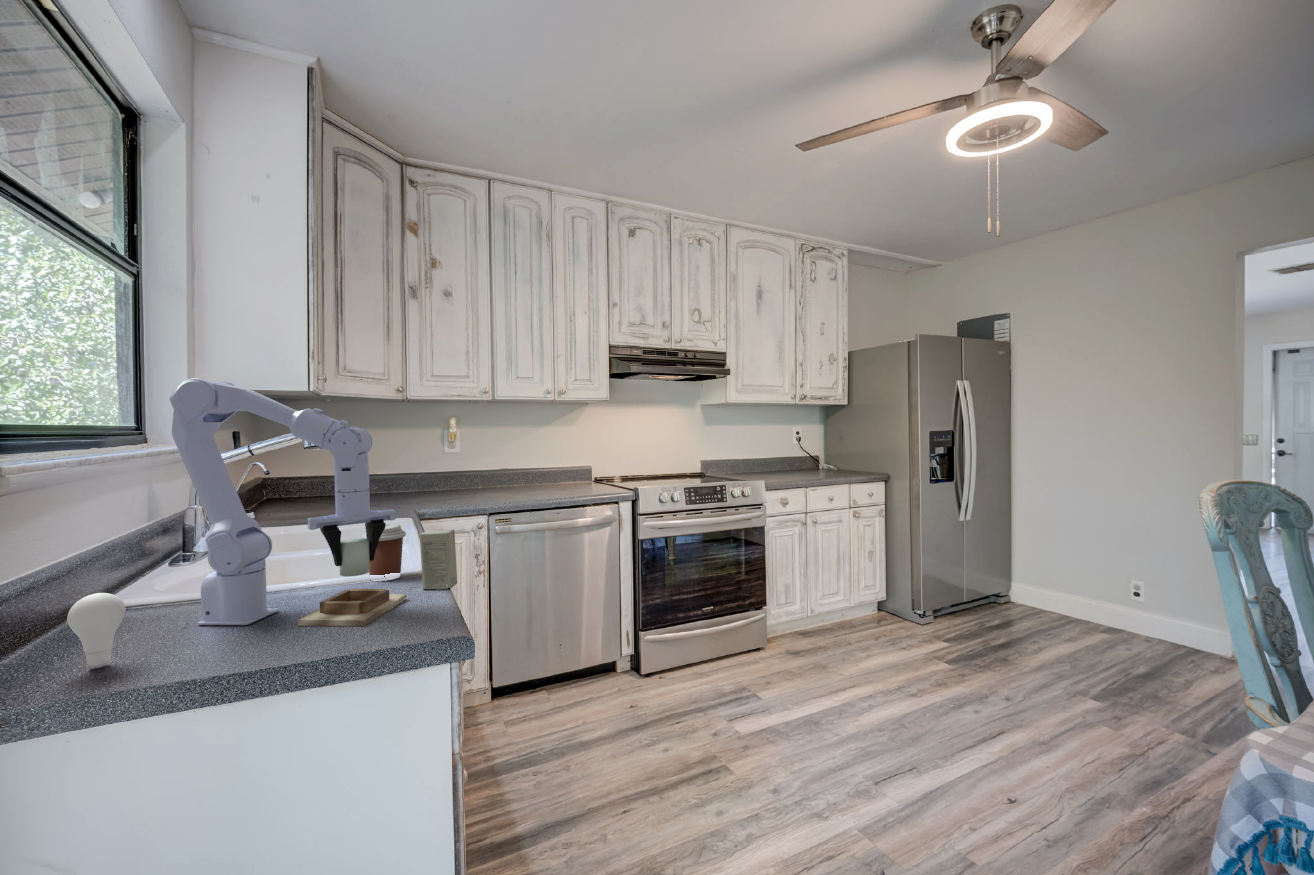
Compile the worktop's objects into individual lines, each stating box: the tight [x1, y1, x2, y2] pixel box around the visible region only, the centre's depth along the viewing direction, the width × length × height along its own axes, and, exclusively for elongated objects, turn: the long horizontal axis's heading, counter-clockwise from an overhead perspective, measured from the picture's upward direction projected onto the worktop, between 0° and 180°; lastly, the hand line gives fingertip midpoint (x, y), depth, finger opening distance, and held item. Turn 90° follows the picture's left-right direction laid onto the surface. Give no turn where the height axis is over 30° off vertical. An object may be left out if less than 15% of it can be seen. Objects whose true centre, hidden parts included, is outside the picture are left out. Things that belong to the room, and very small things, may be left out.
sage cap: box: [339, 538, 370, 577], centre depth 107 cm, size 5×5×6 cm
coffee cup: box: [361, 523, 407, 577], centre depth 130 cm, size 9×9×12 cm
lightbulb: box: [66, 592, 126, 669], centre depth 83 cm, size 6×6×11 cm
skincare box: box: [419, 528, 458, 590], centre depth 122 cm, size 6×4×12 cm
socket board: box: [297, 588, 407, 627], centre depth 107 cm, size 12×15×3 cm
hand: (354, 562), depth 107 cm, fingers closed on sage cap, 5 cm apart
